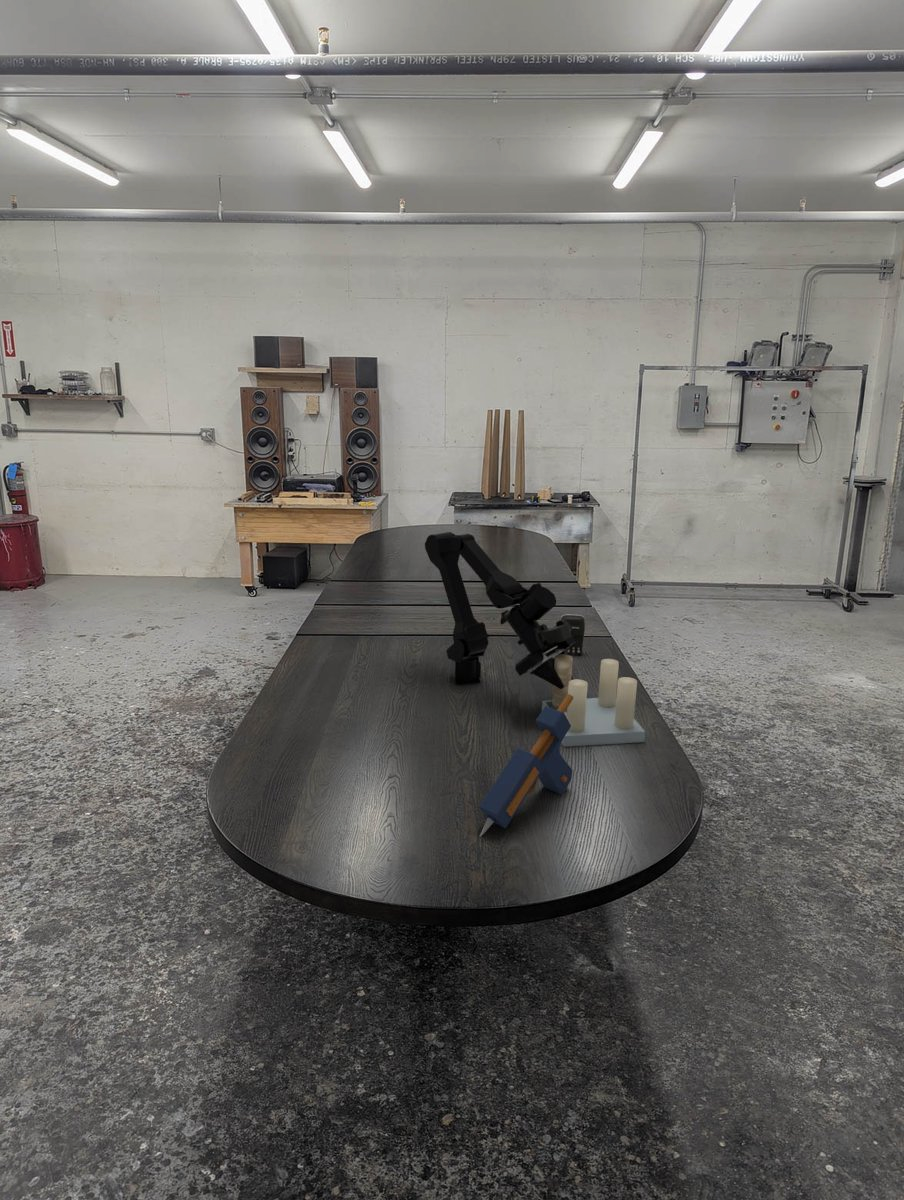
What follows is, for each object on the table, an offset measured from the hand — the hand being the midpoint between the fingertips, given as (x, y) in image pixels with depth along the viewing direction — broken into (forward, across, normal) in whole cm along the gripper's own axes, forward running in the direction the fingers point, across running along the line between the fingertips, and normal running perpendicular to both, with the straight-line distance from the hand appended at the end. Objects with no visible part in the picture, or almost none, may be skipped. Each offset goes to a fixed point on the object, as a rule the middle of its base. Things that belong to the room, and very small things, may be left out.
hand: (567, 685), depth 168 cm
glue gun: (+15, -38, -3) cm, 41 cm away
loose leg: (+4, 0, +6) cm, 7 cm away
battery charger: (-7, +38, +19) cm, 43 cm away
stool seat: (+10, 0, +1) cm, 10 cm away
